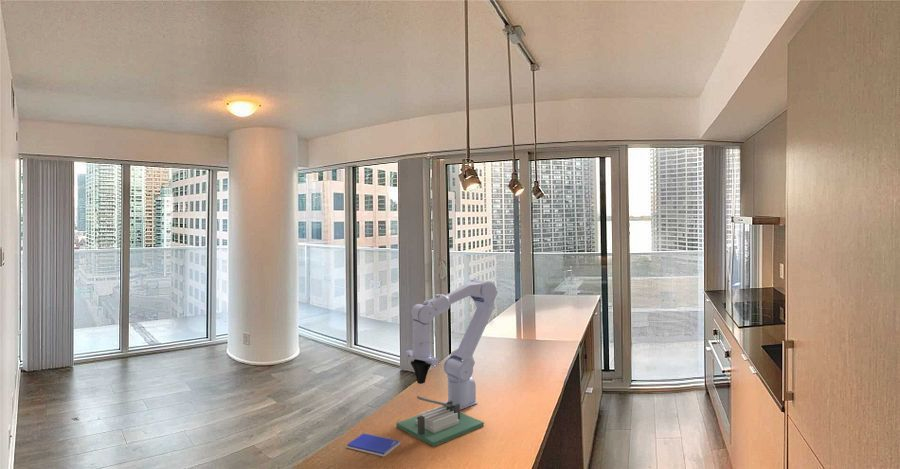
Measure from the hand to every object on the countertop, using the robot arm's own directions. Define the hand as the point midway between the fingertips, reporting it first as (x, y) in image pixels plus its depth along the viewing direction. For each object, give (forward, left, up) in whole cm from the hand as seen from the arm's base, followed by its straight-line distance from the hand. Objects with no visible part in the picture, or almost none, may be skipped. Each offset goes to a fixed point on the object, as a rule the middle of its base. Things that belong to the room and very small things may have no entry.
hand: (421, 382), depth 156 cm
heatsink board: (+1, +11, -10) cm, 15 cm away
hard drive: (+23, +8, -11) cm, 27 cm away
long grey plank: (+3, +11, -3) cm, 12 cm away
